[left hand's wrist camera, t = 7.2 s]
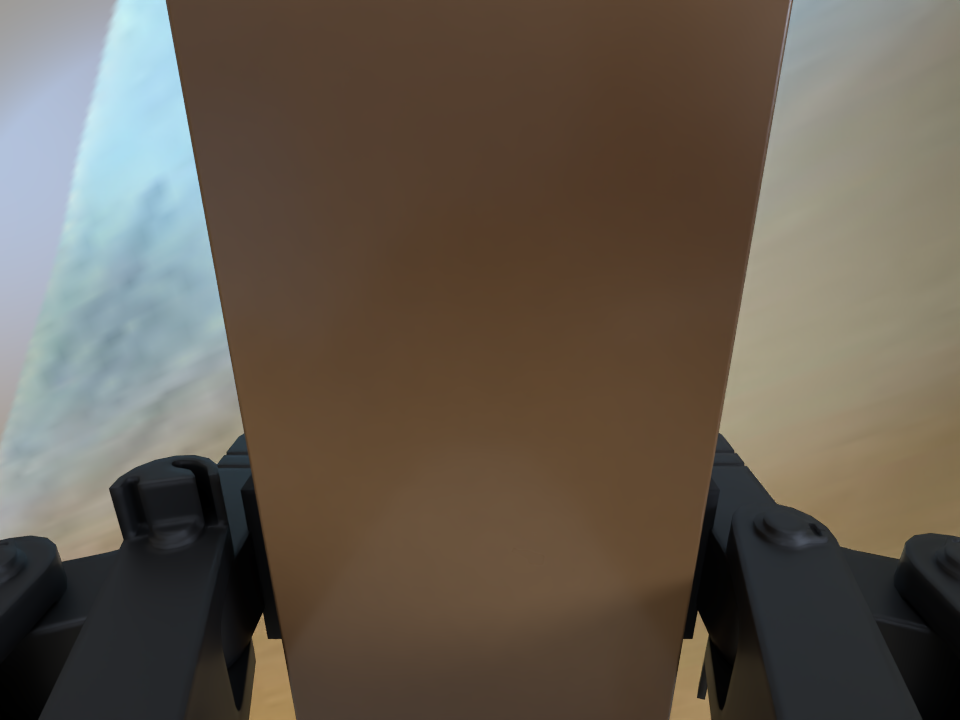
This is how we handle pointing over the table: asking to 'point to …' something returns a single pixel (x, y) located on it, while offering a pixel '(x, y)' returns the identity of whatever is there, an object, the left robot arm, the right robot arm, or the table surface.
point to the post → (480, 329)
